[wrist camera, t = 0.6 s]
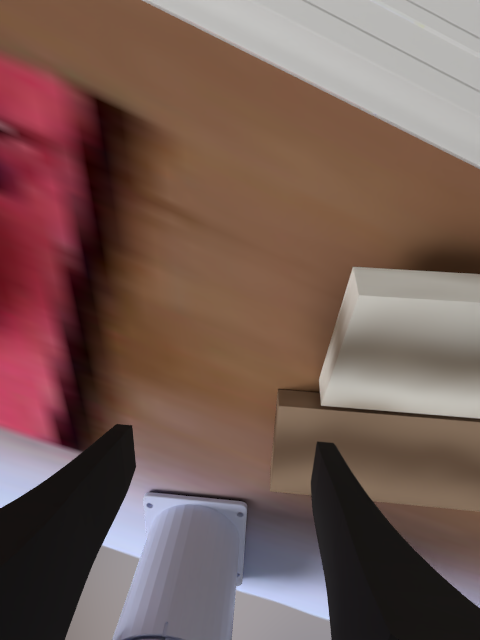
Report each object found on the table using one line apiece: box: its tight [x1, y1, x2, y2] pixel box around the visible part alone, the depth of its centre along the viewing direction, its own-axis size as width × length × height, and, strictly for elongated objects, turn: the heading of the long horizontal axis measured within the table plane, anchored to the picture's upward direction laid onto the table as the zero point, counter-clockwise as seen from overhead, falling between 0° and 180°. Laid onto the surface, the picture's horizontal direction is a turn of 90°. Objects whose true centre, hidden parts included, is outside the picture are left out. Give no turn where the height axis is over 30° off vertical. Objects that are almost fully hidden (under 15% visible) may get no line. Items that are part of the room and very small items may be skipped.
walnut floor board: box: [270, 389, 480, 512], centre depth 23 cm, size 7×16×2 cm, turn 88°
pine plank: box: [319, 267, 480, 419], centre depth 18 cm, size 9×11×2 cm
